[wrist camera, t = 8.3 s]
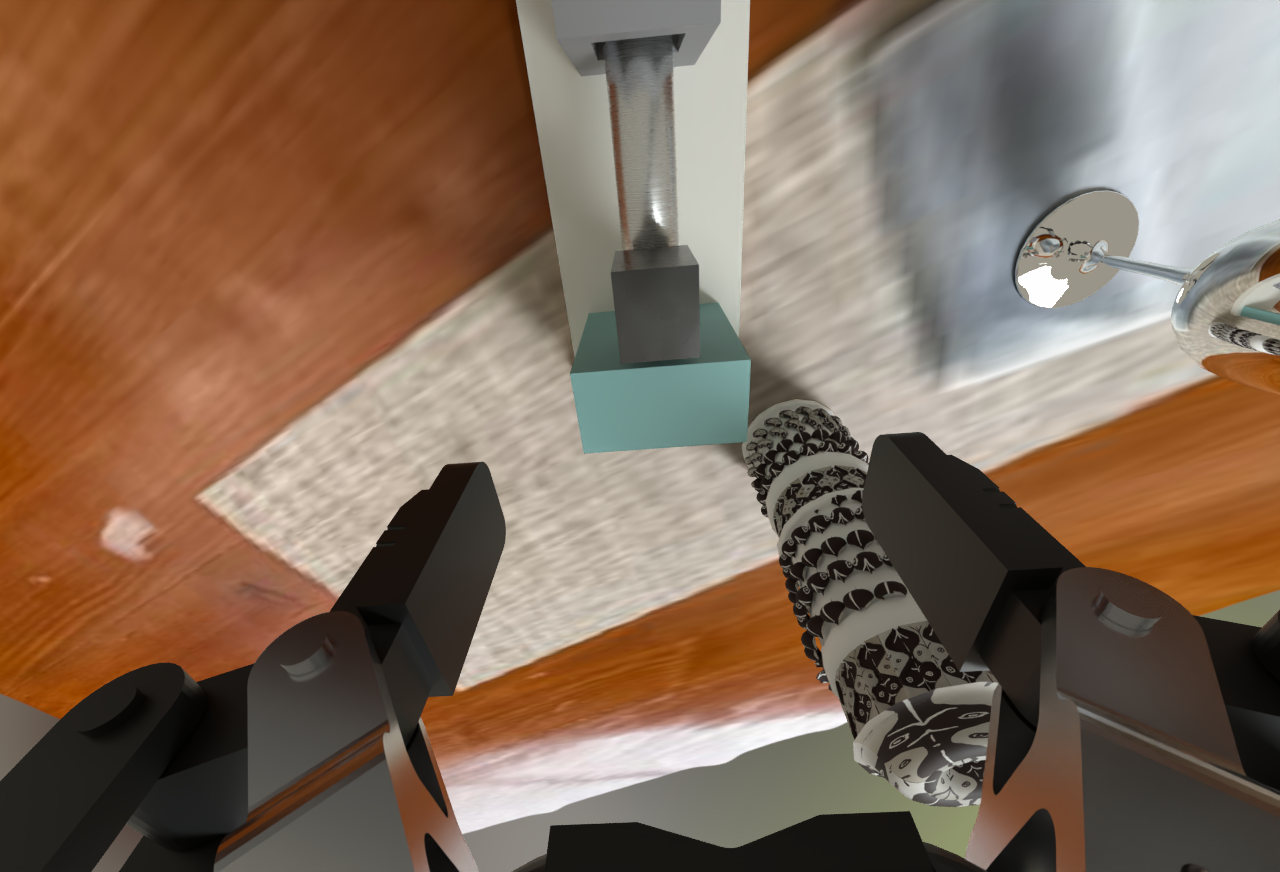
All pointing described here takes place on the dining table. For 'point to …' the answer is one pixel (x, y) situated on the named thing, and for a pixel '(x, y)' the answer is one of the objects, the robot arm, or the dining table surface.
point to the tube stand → (582, 142)
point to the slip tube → (649, 207)
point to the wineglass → (1209, 294)
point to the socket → (661, 390)
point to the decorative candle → (865, 613)
